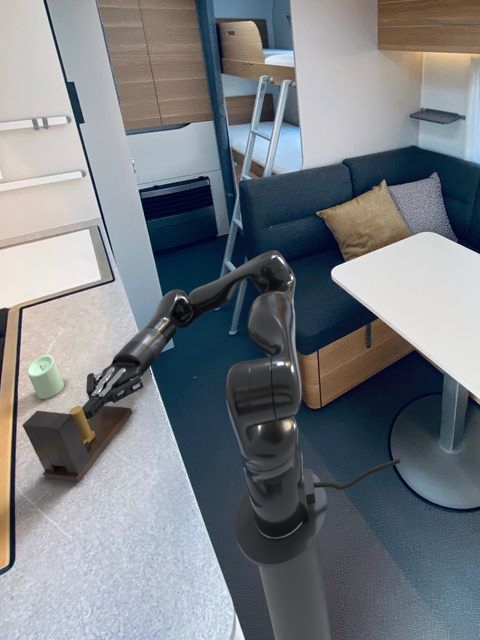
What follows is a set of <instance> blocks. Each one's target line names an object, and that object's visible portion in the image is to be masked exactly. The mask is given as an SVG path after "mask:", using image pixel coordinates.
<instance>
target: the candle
mask: <svg viewBox="0 0 480 640" xmlns="http://www.w3.org/2000/svg"><path fill="white" fill-rule="evenodd" d="M26 370H27V375H28V377H29V380H30V382H31V384H32V387H33V389H34V391H35V393H36V395H37V397H38V398H39V399H40V400H41V399H42V400H44V399H50V398H53V397H54V396H56V395H57V394H59V393H60V392H61V391H62V390H63V388H64V387H65V383H64V379H63V378H62V375H61V374H60V371H59V367H58V366H57V363H56V361H55V358H54V356H52V355H49V354H48V355H47V354H46V355H42V356H39V357H38V358H35V360H33V361H32V362H31V363H30V364H29V366H28V368H27V369H26Z"/></svg>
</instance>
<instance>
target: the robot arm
mask: <svg viewBox="0 0 480 640" xmlns="http://www.w3.org/2000/svg"><path fill="white" fill-rule="evenodd" d="M249 278H250V279H251V282H252V283H253V284H254V286H255V287H256V289H257V290H258V291H259V293H260V295H259V296H257V297H256V298H255V299H254V300H253V302H252V303H251V305H250V308H249V312H248V316H247V317H248V318H247V323H246V332H247V336H248V338H249V340H250V342H251V343H252V344H253V345H254V347H255V348H257V349H258V350H259V351H260V352H261V353H263V354H265V355H266V356H265V357H259V358H254V359H248V360H243V361H242V360H241V361H238V362H235V363H234V364H232V366H230V368H229V370H228V371H227V373H226V377H225V382H224V383H225V385H224V394H225V395H224V396H225V402H226V403H225V404H226V408H227V412H228V417H229V420H230V423H231V426H232V429H233V433H234V436H235V439H236V444H237V448H238V452H239V453H240V457H241V462H242V466H243V471H244V476H245V480H246V485H247V490H249V495H250V499H251V504H252V509H253V514H254V520H255V525H256V528H257V530H258V532H259V533H260V534H261V535H262V536H263V537H265V538H266V539H269V540H283V539H286V538H288V537H290V536H291V535H293V534H294V533H295V532H296V531H298V529H299V528H300V527H301V526H302V524H304V523H307V522H309V510H308V507H309V505H310V504H314V503H316V500H315V489H314V488H321V487H324V488H332V489H335V490H337V491H342V490H345V489H348V488H351V487H352V486H354V485H356V484H357V483H359V482H360V481H361V480H363V479H365V478H366V477H368V476H370V475H372V474H375V473H376V472H379V471H382V470H385V469H387V468H390V467H393V466H396V465H399V464H401V458H396V459H393V460H390V461H387V462H384V463H382V464H379V465H376V466H374V467H371V468H370V469H368V470H366V471H364V472H362V473H360V474H359V475H358V476H356V477H355V478H353V479H352V480H350V481H347V482H344V483H342V484H340V483H336V482H334V481H321V482H314V478H313V473H314V471H313V468H312V467H311V468H305V463H304V456H303V455H304V454H303V453H302V449H301V448H302V447H301V442H300V435H299V427H298V424H297V420H296V419H295V416H296V415H297V414H298V413H299V411H300V408H301V406H302V401H303V385H302V376H301V369H300V364H299V357H298V350H297V344H296V312H295V300H294V294H295V289H296V288H295V287H296V283H297V281H296V276H295V273H294V271H293V269H292V268H291V266H290V265H289V264H288V263H287V261H286V259H285V258H284V256H283V255H282V253H281V252H280V251H278V250H268V251H266V252H264V253H261V254H259V255H257V256H256V257H254V258H252V259H250V260H248V261H246V262H245V263H243V264H241V265H240V266H238V267H237V268H234V269H233V270H231V271H230V272H228V273H226V274H225V275H223V276H221V277H219V278H218V279H215V280H214V281H211V282H207V283H205V284H203V285H201V286H198V287H195V288H194V289H193V290H191V291H190V292H189V294H187V293H186V291H184V290H183V289H180V288H176V289H172V290H170V291H168V292H167V293H166V294H164V296H163V297H162V298H161V299H160V301H159V303H158V304H157V307H156V309H155V311H154V313H153V315H152V316H151V318H150V320H149V321H148V322H147V324H145V326H144V327H143V328H141V330H140V331H138V332H137V333H136V334H135V335H134V336H132V337H131V339H129V340H128V342H127V343H126V344H125V345H124V346H123V347H122V348H121V349H120V350H119V351H118V352H117V353H116V354H115V355H114V356H113V359H112V361H111V363H110V365H108V366H107V367H105V368H104V369H103V370H102V372H100V373H97V374H95V373H94V372H90V373H88V374H87V376H86V387H85V393H86V395H87V397H88V400H87V401H86V402H85V403H84V404H83V406H81V407H82V409H83V412H84V414H85V417H86V419H87V421H89V420H90V419H91V418H92V417H94V416H95V415H96V414H97V413H98V412H99V410H100V409H101V408H102V407H103V406H107V405H108V404H109V403H112V404H116V403H118V402H120V401H122V400H124V399H125V398H127V397H129V396H131V395H133V394H135V393H137V392H138V391H140V390H142V389H143V388H144V384H143V381H142V377H143V376H144V374H145V373H146V372H147V371H148V370H149V369H150V367H151V366H152V365H153V364H154V362H155V361H156V360H157V359H158V358H159V356H160V355H161V354H162V352H163V351H164V348H165V347H166V346H167V345H168V344H169V342H170V341H171V340H172V339H173V338H174V337H175V335H176V334H177V330H178V329H185V328H187V327H189V326H191V325H192V324H194V323H195V321H196V320H197V319H199V318H200V317H201V316H203V315H204V314H207V313H208V312H212V311H215V310H217V309H220V308H222V307H224V306H225V305H227V304H228V303H229V302H230V301H231V300H232V299H233V297H234V295H235V294H236V292H237V290H238V288H239V287H240V285H241V283H242V282H243V281H245V280H246V279H249ZM177 328H178V329H177ZM121 392H122V393H121ZM304 468H305V469H306V470H304Z"/></svg>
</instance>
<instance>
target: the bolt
mask: <svg viewBox="0 0 480 640" xmlns="http://www.w3.org/2000/svg"><path fill="white" fill-rule="evenodd" d="M82 407H83V406H82V405H75V406H73V407H72V408H70V410H69V412H68V414H72V416H73V419H74V421H75V424H76V426H77V428H78V431H79V433H80V435H81V438H82V440H83V442H84V444H85V443H86V442H91V440H92V439H93V438H94V437H95V432H94V431H91V429H90V426H89V424H88V420H87V419H86V417H85V414H84V412H83V409H82Z"/></svg>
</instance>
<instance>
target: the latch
mask: <svg viewBox="0 0 480 640" xmlns="http://www.w3.org/2000/svg"><path fill="white" fill-rule="evenodd" d="M132 414H133V410H132V407H123V406H113V405H104V406H103V407H102V408H101V409H100V410H99V412H98V413H97V414H96V415H95V416H94V417H92V418H91V419H90V420H87V422H88V424H89V426H90V429H91V431H94V432H95V437H94V438H93V439H92V440H91V442H86V443H85V444H84V442H83V440H82V438H81V435H80V433H79V431H78V428H77V426H76V424H75V421H74V419H73V416H72V414H69V413H64V412H54V411H47V410H46V411H45V410H36V411H35V412H34V413H33V414H32V415H31V416H30V417H29V418H28V419H27V420H26V421H25V422H24V423H23V424H22V427H23V430H24V432H25V434H26V436H27V438H28V440H29V442H30V444H31V446H32V448H33V450H34V452H35V454H36V456H37V458H38V460H39V462H40V464H41V466H42V468H43V470H44V471H43V473H42V475H43V478H44V479H45V480H51V481H60V482H68V483H79V484H80V482H81V481H82V479H83V478H84V477H85V475H86V474H87V473H88V471H89V470H90V469H91V468H92V467H93V465H94V464H95V463H96V461H97V460H98V458H99V457H100V456H101V455H102V454H103V452H104V450H105V449H106V448H107V447H108V446H109V444H110V443H111V442H112V440H113V439H114V438H115V437H116V436H117V434H118V433H119V431H120V429H122V428H123V426H124V425H125V424H126V422H127V421H128V420H129V418H130V417H131V415H132Z"/></svg>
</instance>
